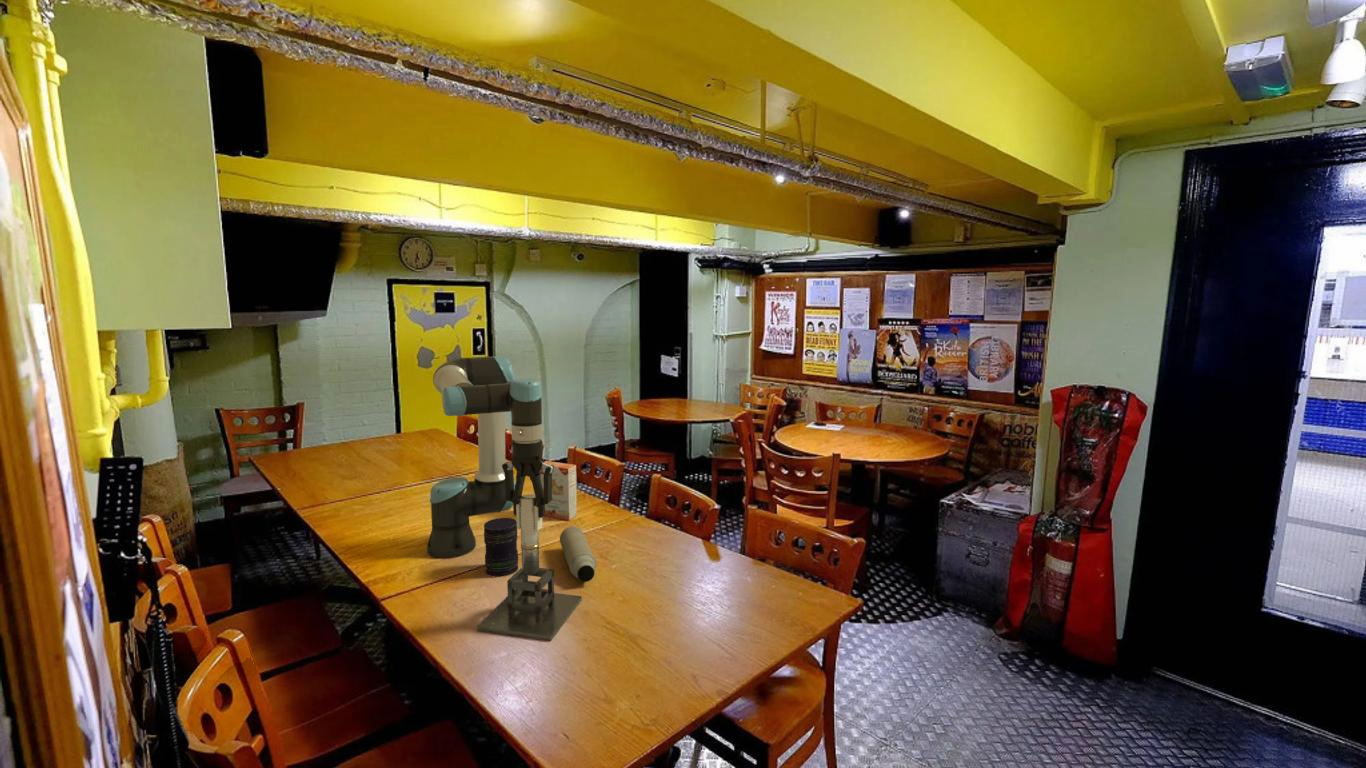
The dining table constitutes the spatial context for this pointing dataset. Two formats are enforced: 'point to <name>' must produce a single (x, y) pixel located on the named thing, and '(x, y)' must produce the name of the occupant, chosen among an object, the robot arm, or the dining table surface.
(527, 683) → the dining table surface
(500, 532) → the storage jar
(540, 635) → the collar stand
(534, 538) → the steel tube
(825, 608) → the dining table surface
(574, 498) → the cracker box
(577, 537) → the thermos bottle
